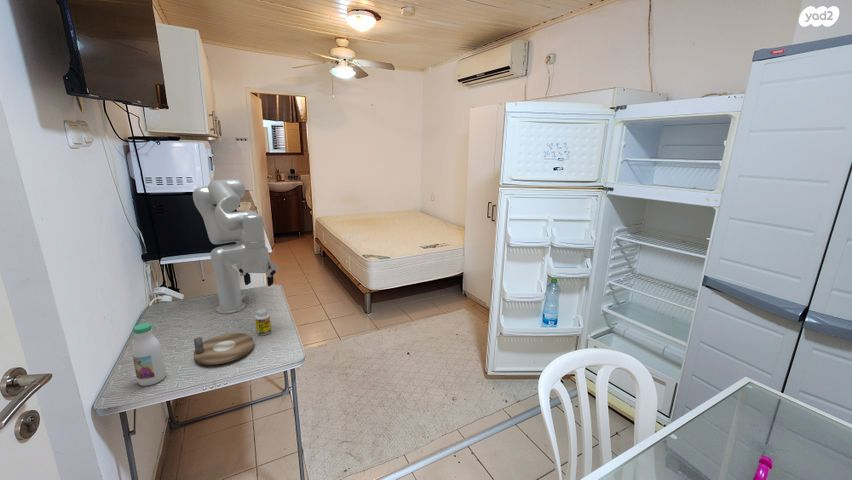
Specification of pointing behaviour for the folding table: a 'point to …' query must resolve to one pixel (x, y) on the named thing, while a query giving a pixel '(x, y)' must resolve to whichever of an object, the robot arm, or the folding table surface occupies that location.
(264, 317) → the supplement bottle
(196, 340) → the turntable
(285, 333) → the folding table surface
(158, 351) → the milk bottle
